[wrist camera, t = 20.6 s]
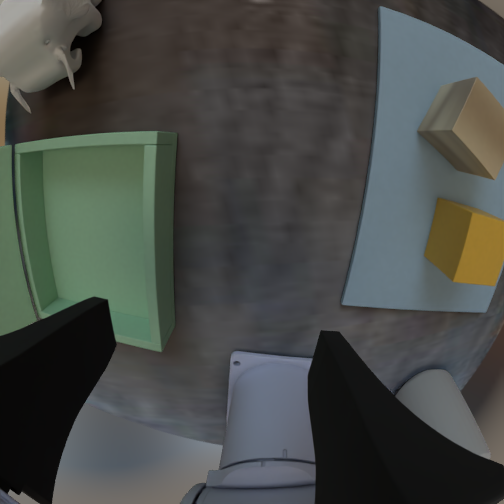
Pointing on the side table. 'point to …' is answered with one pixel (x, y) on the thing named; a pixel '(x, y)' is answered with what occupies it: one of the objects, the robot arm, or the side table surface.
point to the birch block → (467, 127)
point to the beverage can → (443, 409)
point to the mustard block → (466, 243)
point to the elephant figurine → (43, 41)
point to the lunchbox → (101, 227)
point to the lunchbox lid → (11, 258)
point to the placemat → (416, 173)
